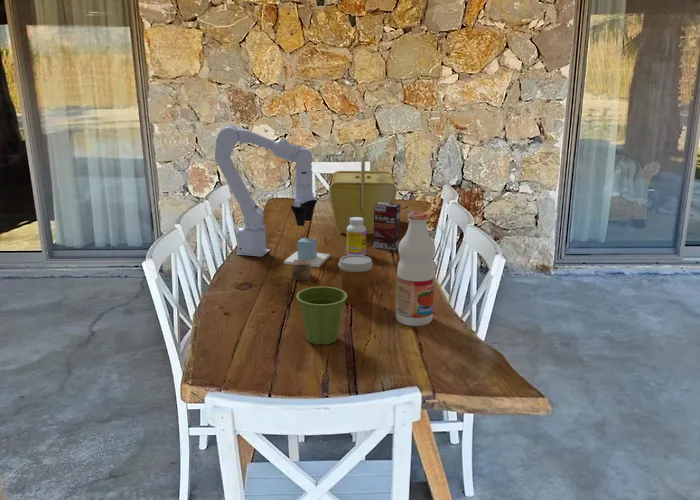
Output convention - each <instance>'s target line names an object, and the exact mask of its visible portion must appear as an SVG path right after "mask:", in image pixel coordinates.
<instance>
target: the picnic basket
mask: <svg viewBox="0 0 700 500" xmlns="http://www.w3.org/2000/svg"><path fill="white" fill-rule="evenodd" d="M365 167H366V152H365V149H364V148H361V151H360V170H337V171H334V172H333V173H332V175H331V183H330V185H329V186H328V191H329V192H328V193H329V198H330V203H331V209H332V215H333V219H334V220H333V221H334V226H335V228H336V230H337V231H338V232H340V233H342V234H346V235H347V227H348V226H349V225H350V218H352V217H361V218H363V219H364V222H363V225H364V226H365V227H366V235H374V205H375V204H376V203H378V202H381V203H391V204H395V203H396V202H395V201H396V197H397V192H398V188H397V185H396V184H395V181H394V175H393V174H392V172H390V171H386V170H366V168H365Z"/></svg>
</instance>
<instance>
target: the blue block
mask: <svg viewBox="0 0 700 500" xmlns="http://www.w3.org/2000/svg"><path fill="white" fill-rule="evenodd" d="M317 242H318V239H317V238H309V237H302V238H300V239H299V240H297V242H296V243H297V251H298V259H303V260H313V259H314V258H315V257H316V256H317V253H318V243H317Z"/></svg>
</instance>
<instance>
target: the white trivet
mask: <svg viewBox="0 0 700 500" xmlns="http://www.w3.org/2000/svg"><path fill="white" fill-rule="evenodd" d="M330 255H331V254H330V253H322V252H317V256H316V257H315V258H314V259H313V260H310V268H311V267H313V268H320V267H321V266H322V265H323V264H324V263H326V261H328V259H330ZM294 260H303V259H298V250H296V251H295V252H293V254H291V255H290V256H288V257H287V258H286V259H285V260H284V261H283V265H291V266H292V264H293V261H294Z"/></svg>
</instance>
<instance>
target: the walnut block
mask: <svg viewBox="0 0 700 500" xmlns="http://www.w3.org/2000/svg"><path fill="white" fill-rule="evenodd" d="M291 266H292V280H293V281H310V278H311V267H310V260H294V261H293V264H292V265H291Z"/></svg>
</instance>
